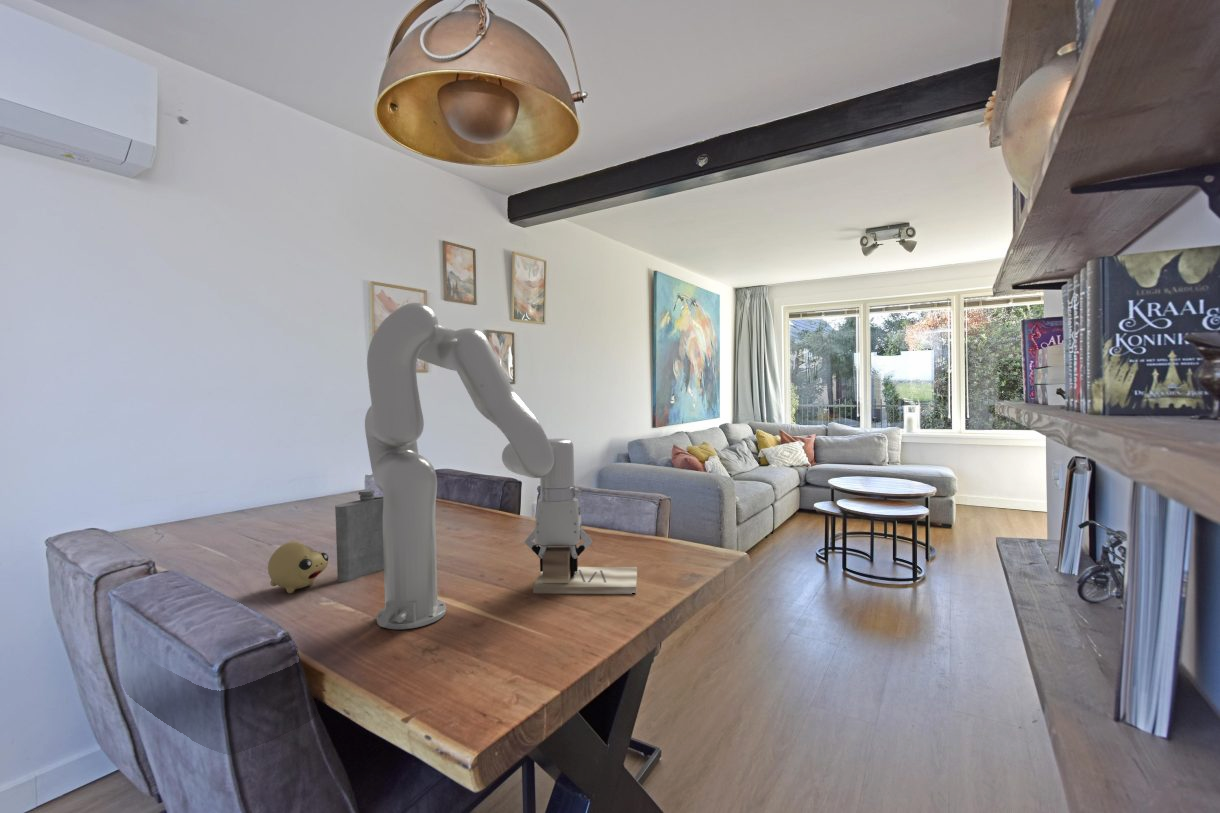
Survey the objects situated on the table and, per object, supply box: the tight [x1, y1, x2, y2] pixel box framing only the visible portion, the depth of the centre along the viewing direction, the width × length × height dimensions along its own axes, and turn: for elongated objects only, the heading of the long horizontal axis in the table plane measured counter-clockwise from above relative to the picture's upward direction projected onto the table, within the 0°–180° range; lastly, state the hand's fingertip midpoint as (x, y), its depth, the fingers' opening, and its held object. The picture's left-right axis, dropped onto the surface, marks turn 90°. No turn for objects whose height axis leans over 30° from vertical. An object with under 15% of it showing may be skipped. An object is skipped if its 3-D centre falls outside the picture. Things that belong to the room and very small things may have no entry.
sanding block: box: [542, 546, 571, 583], centre depth 123 cm, size 10×6×6 cm, turn 176°
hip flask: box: [335, 488, 384, 583], centre depth 133 cm, size 16×4×20 cm, turn 145°
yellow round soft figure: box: [267, 540, 329, 594], centre depth 122 cm, size 10×12×11 cm
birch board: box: [532, 566, 638, 595], centre depth 123 cm, size 13×22×2 cm, turn 86°
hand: (559, 573), depth 123 cm, fingers closed on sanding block, 5 cm apart
